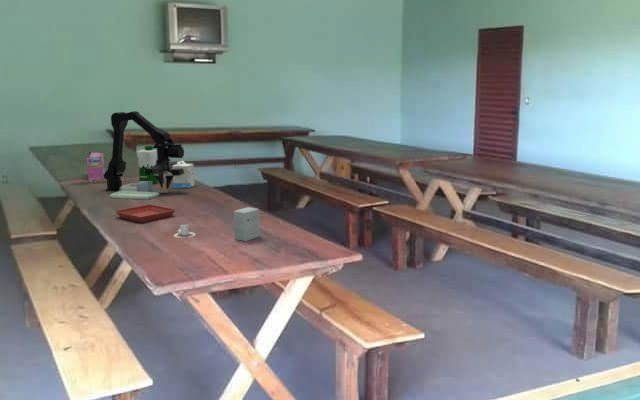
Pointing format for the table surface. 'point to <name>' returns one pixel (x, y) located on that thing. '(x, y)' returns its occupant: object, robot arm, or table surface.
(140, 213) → the plant saucer
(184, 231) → the charger with coiled cable
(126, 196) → the tray
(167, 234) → the table surface
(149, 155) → the milk carton
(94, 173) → the pink product box
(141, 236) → the table surface
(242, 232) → the small box
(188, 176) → the ink box
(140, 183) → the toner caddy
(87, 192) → the table surface
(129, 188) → the frame
